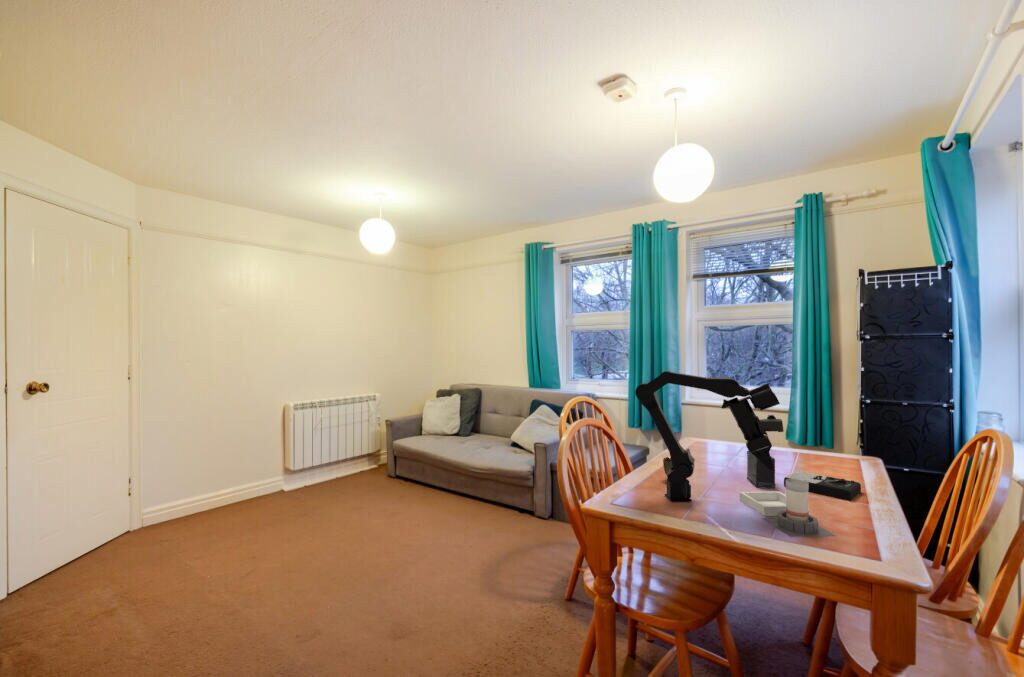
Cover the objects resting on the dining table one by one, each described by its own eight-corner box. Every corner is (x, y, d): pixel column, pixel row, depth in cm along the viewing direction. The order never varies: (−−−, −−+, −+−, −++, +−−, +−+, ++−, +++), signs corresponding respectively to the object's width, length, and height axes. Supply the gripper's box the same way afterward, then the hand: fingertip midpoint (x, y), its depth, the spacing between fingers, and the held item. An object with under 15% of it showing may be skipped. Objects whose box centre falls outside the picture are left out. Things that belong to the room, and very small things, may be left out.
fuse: (794, 530, 116) (794, 484, 116) (781, 522, 121) (781, 478, 121) (813, 530, 116) (813, 484, 116) (800, 522, 121) (799, 478, 121)
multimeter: (850, 502, 140) (850, 486, 140) (783, 487, 155) (783, 473, 155) (861, 493, 148) (861, 478, 148) (796, 480, 163) (796, 466, 163)
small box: (776, 489, 152) (776, 458, 152) (756, 487, 153) (755, 457, 153) (765, 479, 162) (765, 451, 162) (746, 478, 164) (746, 450, 164)
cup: (682, 485, 156) (682, 463, 156) (660, 482, 159) (660, 460, 160) (686, 480, 162) (686, 458, 162) (665, 477, 166) (665, 455, 166)
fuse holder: (790, 540, 112) (790, 526, 112) (762, 521, 124) (761, 509, 124) (836, 539, 113) (836, 525, 113) (803, 520, 125) (803, 508, 125)
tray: (764, 519, 126) (764, 506, 126) (739, 503, 138) (739, 492, 138) (807, 518, 126) (807, 506, 126) (778, 502, 139) (778, 491, 139)
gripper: (775, 410, 123) (804, 464, 120) (769, 403, 140) (795, 449, 136) (735, 425, 127) (762, 477, 124) (734, 416, 144) (758, 461, 141)
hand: (771, 465), depth 131 cm, fingers open, 9 cm apart
